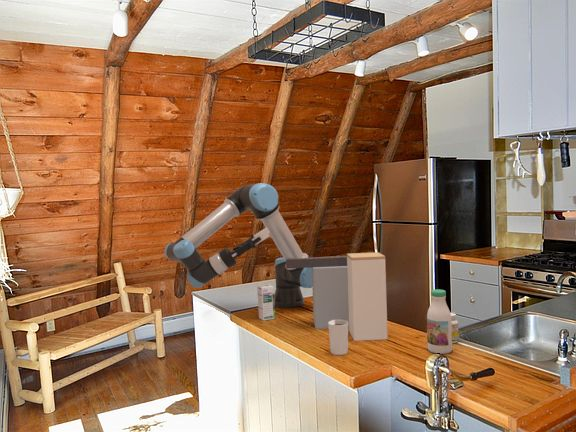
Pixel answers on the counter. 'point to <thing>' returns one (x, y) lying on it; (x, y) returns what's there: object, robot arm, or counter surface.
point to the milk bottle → (439, 324)
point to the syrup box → (266, 302)
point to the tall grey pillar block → (330, 295)
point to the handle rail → (316, 262)
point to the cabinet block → (367, 296)
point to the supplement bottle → (454, 328)
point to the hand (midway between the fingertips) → (268, 231)
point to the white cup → (338, 337)
